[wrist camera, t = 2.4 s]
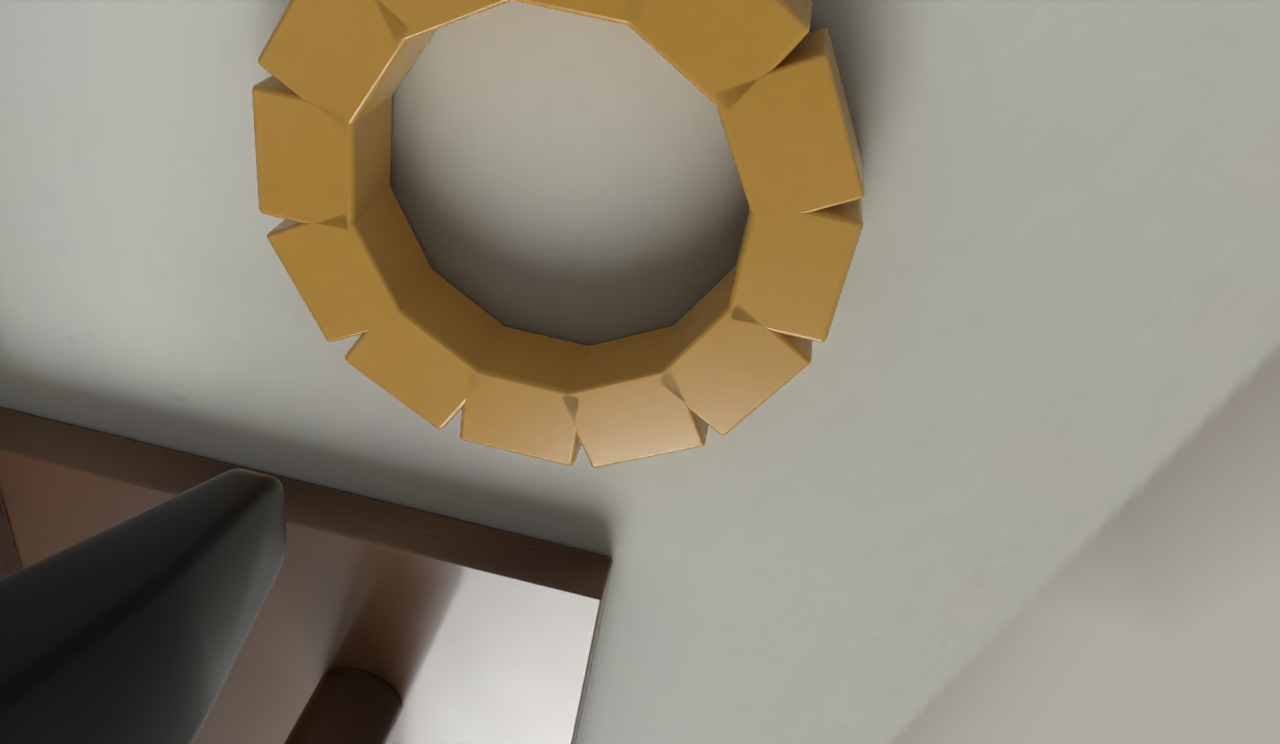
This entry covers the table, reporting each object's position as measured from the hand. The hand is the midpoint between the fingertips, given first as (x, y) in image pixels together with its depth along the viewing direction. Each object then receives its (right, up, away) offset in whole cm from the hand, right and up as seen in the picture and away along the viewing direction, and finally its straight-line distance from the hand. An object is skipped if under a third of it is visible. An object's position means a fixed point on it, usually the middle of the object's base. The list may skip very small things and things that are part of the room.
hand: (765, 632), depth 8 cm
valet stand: (-11, -4, +15) cm, 19 cm away
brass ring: (-2, +5, +7) cm, 9 cm away
